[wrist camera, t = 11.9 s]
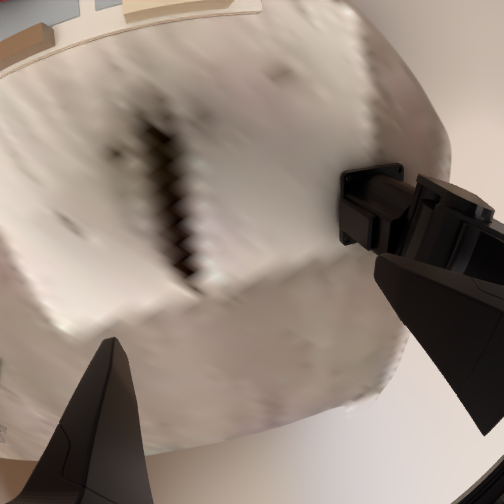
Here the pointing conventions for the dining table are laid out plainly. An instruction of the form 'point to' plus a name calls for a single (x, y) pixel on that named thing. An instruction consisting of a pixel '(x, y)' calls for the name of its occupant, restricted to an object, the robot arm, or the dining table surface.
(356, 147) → the dining table surface
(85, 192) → the dining table surface
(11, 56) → the board
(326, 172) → the dining table surface
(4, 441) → the graphics card
